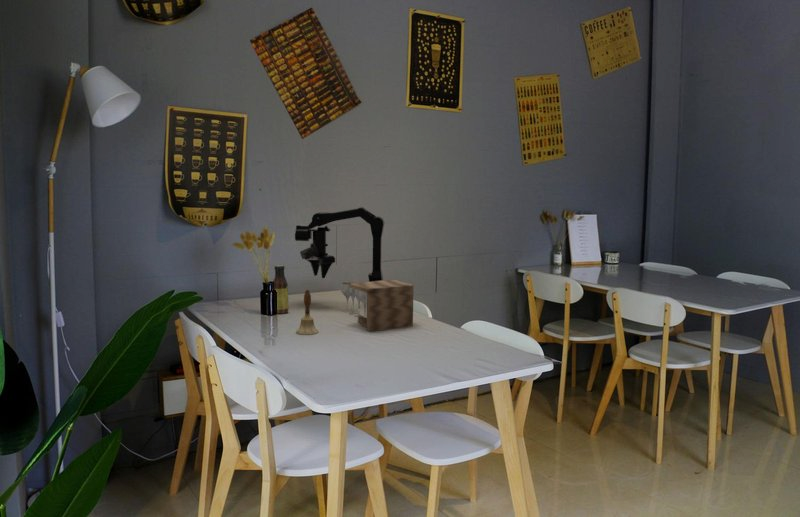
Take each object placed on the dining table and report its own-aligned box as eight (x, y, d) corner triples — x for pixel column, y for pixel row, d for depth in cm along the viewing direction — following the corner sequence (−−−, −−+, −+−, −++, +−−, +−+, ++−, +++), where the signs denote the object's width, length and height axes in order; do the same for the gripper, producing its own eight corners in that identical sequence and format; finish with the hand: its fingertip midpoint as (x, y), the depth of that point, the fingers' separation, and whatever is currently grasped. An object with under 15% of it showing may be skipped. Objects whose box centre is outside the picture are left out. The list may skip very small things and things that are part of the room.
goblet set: (380, 322, 266) (380, 289, 264) (367, 324, 263) (367, 290, 261) (350, 309, 290) (351, 278, 288) (338, 310, 287) (338, 279, 286)
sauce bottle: (291, 312, 281) (291, 265, 279) (279, 314, 277) (278, 267, 274) (282, 310, 286) (281, 264, 283) (269, 312, 281) (269, 265, 278)
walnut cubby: (392, 318, 274) (392, 279, 272) (412, 325, 261) (413, 285, 259) (349, 323, 263) (349, 283, 261) (368, 331, 250) (369, 289, 248)
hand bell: (322, 331, 251) (322, 289, 249) (310, 336, 243) (310, 292, 241) (303, 328, 254) (303, 287, 252) (291, 333, 247) (291, 290, 244)
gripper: (293, 240, 295) (293, 275, 297) (312, 244, 279) (312, 281, 281) (316, 239, 301) (316, 273, 303) (335, 243, 285) (335, 279, 287)
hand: (319, 276), depth 293 cm, fingers open, 7 cm apart
